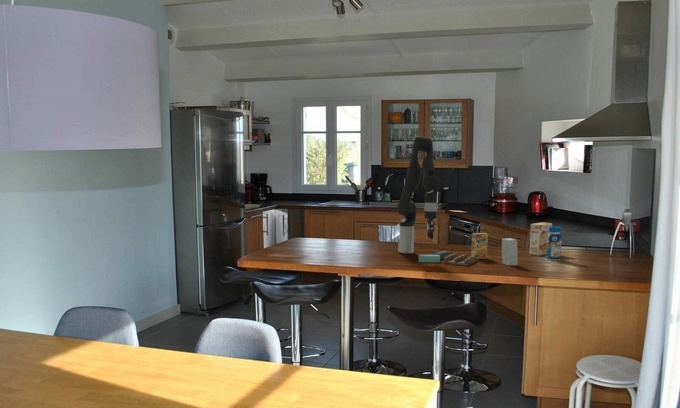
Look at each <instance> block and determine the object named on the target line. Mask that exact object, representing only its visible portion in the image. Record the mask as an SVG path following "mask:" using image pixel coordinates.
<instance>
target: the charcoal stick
mask: <svg viewBox="0 0 680 408" xmlns="http://www.w3.org/2000/svg"><path fill="white" fill-rule="evenodd" d="M450 253H451V252H450V251H449V250H442V251H438V252H433V255H440V261H441V260H444V257H447V256H449V255H451V254H450Z"/></svg>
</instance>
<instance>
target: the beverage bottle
mask: <svg viewBox="0 0 680 408" xmlns="http://www.w3.org/2000/svg"><path fill="white" fill-rule="evenodd" d="M561 229H562V227H561V226H558V225H557V226H555V225H552V226H550V227H549V232H550V233H549V235H548V237H547V239H548V240H547V254H546V260H548V261H553V262H554V261H556V262H557V261H561V260H562V244H563V242H562V239H563V238H562V235H561Z"/></svg>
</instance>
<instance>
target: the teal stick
mask: <svg viewBox="0 0 680 408" xmlns="http://www.w3.org/2000/svg"><path fill="white" fill-rule="evenodd" d="M440 261H441V260H440V255H434V254H418V262H419V263H441V262H440Z"/></svg>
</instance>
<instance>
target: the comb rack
mask: <svg viewBox="0 0 680 408" xmlns="http://www.w3.org/2000/svg"><path fill="white" fill-rule="evenodd" d="M443 260H444V261H443V264H447V265H449V264H450V265H454V266H455V265H456V266H466V267H467V266H469V265H471V264H474V263H477V261H478V259H477V255H474V256H469V257H468V253H464V254H462V255H458V252H454V253H453V254H450V255H449V256H447V257H444V259H443Z"/></svg>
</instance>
